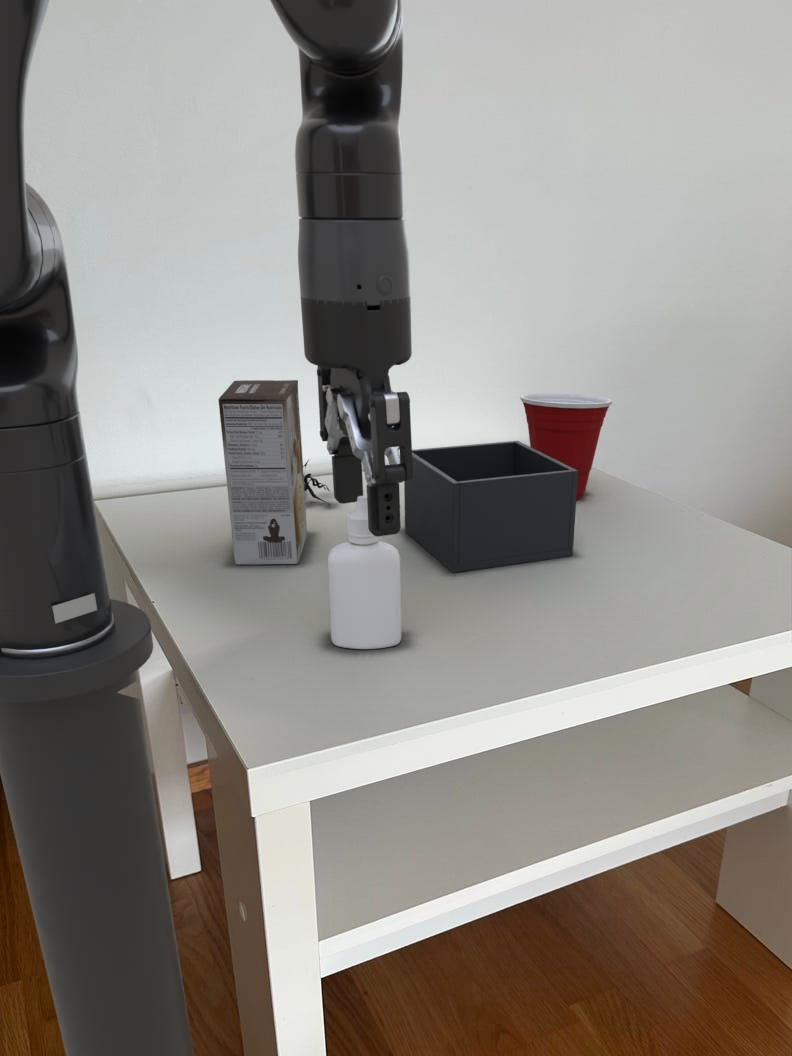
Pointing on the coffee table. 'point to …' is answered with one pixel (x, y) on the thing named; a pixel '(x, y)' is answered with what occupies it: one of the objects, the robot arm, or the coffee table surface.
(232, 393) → the coffee box
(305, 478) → the creature
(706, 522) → the coffee table surface
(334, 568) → the eye dropper bottle
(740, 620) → the coffee table surface
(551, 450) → the plastic cup
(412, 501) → the bin
